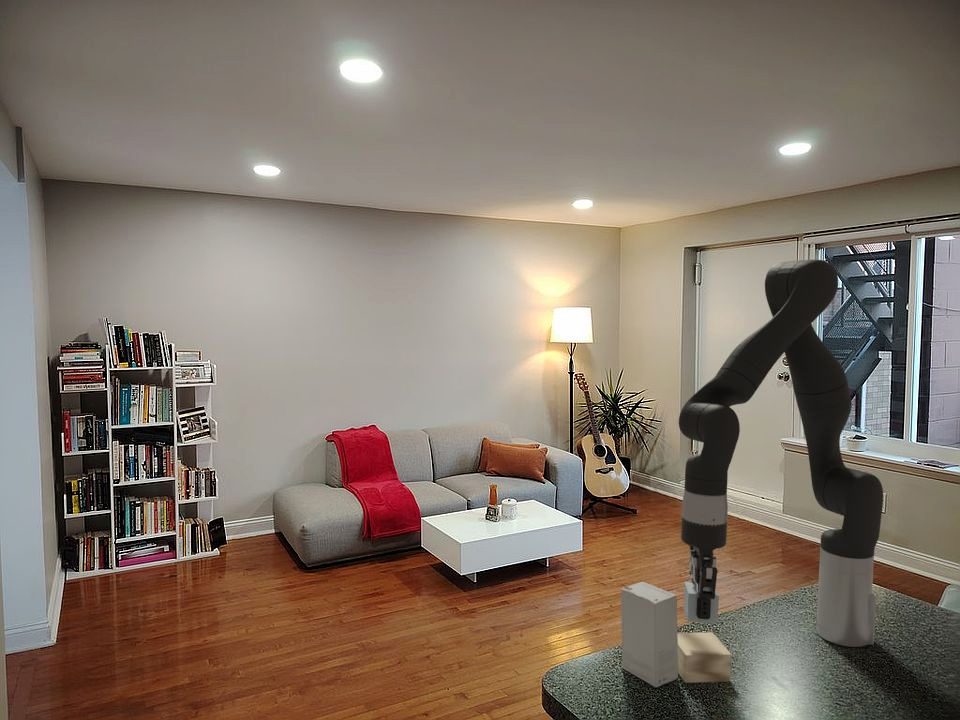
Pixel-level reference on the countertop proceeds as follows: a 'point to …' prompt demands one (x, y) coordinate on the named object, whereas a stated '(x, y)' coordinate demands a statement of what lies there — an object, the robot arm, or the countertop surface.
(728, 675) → the birch block
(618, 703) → the countertop surface
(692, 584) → the grey-blue cube
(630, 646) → the skincare box
